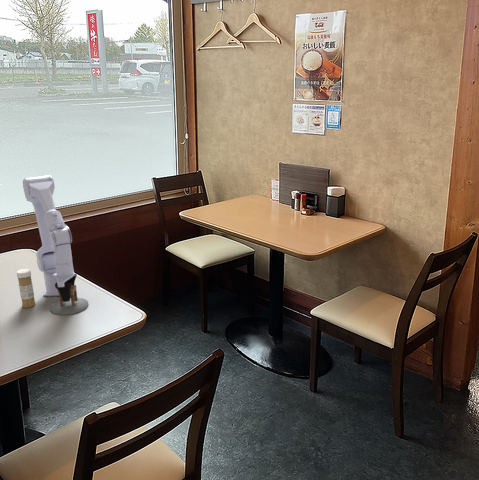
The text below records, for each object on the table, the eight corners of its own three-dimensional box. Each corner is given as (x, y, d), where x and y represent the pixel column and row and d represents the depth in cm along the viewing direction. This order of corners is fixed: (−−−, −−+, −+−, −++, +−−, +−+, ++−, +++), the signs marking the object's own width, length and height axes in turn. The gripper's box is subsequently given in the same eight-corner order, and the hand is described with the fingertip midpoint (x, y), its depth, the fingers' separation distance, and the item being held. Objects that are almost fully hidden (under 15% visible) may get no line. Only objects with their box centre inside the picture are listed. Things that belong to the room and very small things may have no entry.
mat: (55, 299, 187) (55, 298, 187) (91, 298, 188) (91, 296, 188) (45, 316, 175) (45, 314, 174) (84, 314, 176) (84, 312, 176)
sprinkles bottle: (32, 301, 186) (26, 267, 182) (37, 305, 183) (32, 270, 179) (19, 305, 183) (14, 270, 179) (25, 309, 180) (19, 274, 176)
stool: (63, 300, 183) (61, 285, 181) (77, 300, 183) (76, 284, 181) (60, 306, 178) (58, 291, 176) (74, 306, 179) (72, 290, 177)
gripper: (57, 255, 182) (61, 289, 187) (46, 270, 169) (51, 307, 173) (77, 254, 183) (81, 288, 187) (67, 269, 169) (72, 306, 174)
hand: (68, 297), depth 180 cm, fingers closed on stool, 5 cm apart
